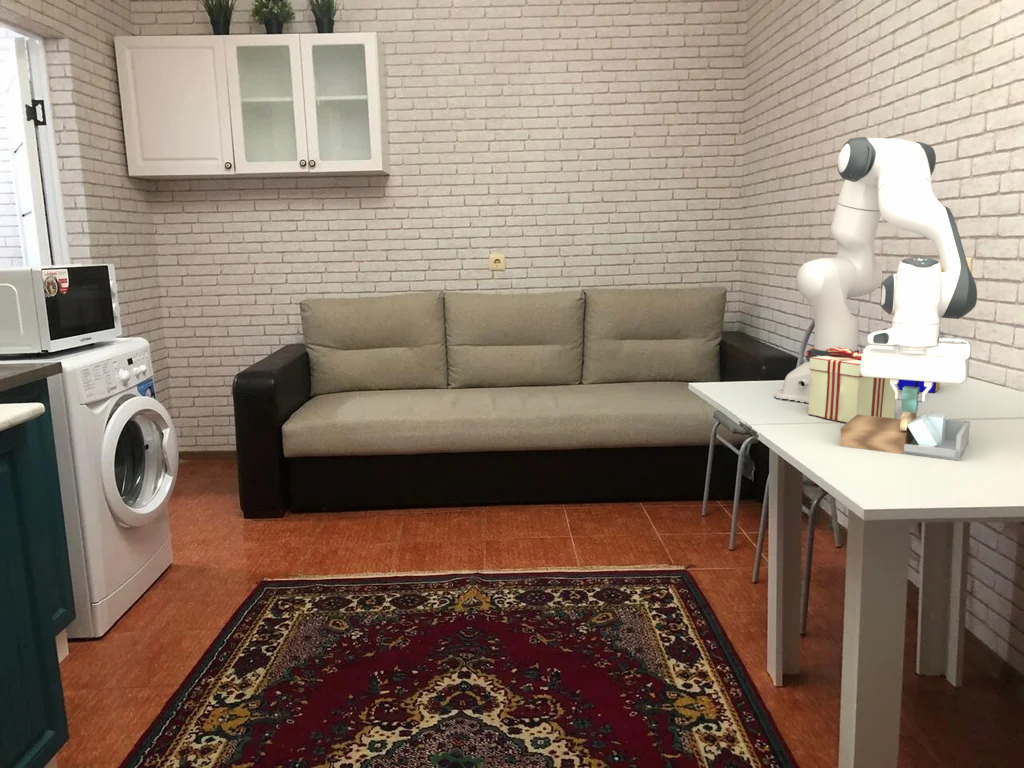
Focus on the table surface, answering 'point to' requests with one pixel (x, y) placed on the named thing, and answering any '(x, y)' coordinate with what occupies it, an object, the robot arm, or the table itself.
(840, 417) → the gift box
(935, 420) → the tile far
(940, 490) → the table surface
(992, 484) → the table surface
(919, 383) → the puzzle cube
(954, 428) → the tray
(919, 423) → the tile near
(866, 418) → the tan wooden board
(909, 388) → the teal-headed mallet
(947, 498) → the table surface
